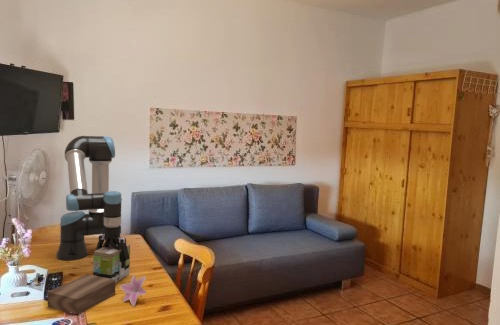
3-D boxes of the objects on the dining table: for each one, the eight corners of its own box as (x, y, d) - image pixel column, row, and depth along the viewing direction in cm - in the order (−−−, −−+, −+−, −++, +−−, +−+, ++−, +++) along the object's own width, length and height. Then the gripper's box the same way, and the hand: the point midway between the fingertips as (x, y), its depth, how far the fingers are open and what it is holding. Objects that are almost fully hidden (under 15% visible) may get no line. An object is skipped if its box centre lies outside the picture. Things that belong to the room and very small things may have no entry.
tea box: (112, 286, 163) (112, 253, 161) (92, 283, 165) (92, 251, 163) (130, 274, 177) (130, 243, 176) (111, 271, 179) (111, 241, 178)
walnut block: (47, 306, 142) (47, 291, 142) (87, 287, 161) (87, 273, 160) (77, 315, 137) (77, 299, 136) (115, 294, 155) (115, 280, 155)
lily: (119, 297, 155) (113, 282, 149) (145, 282, 160) (140, 267, 155) (130, 317, 146) (123, 302, 141) (157, 300, 152) (152, 285, 146)
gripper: (86, 224, 170) (86, 270, 171) (127, 230, 161) (126, 279, 163) (98, 220, 177) (98, 265, 178) (138, 226, 168) (137, 274, 170)
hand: (111, 272), depth 171 cm, fingers closed on tea box, 11 cm apart
